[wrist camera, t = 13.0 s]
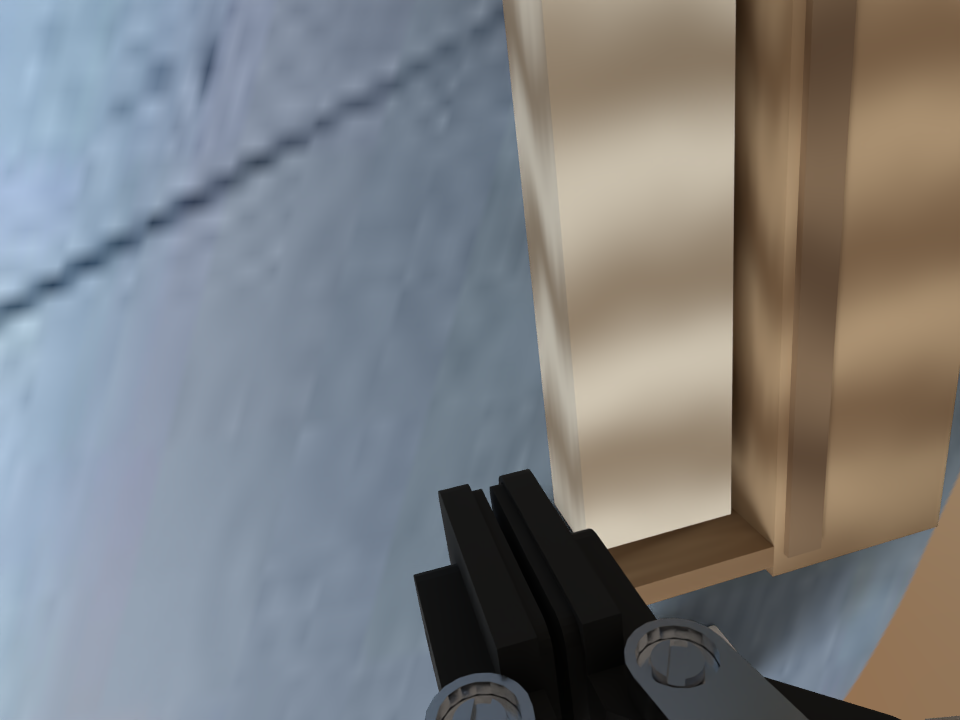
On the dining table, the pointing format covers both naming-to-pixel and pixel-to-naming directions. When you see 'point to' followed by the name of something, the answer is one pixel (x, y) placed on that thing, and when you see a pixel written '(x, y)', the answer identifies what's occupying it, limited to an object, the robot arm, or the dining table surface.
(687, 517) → the ash plank
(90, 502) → the dining table surface
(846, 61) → the oak board pocket
